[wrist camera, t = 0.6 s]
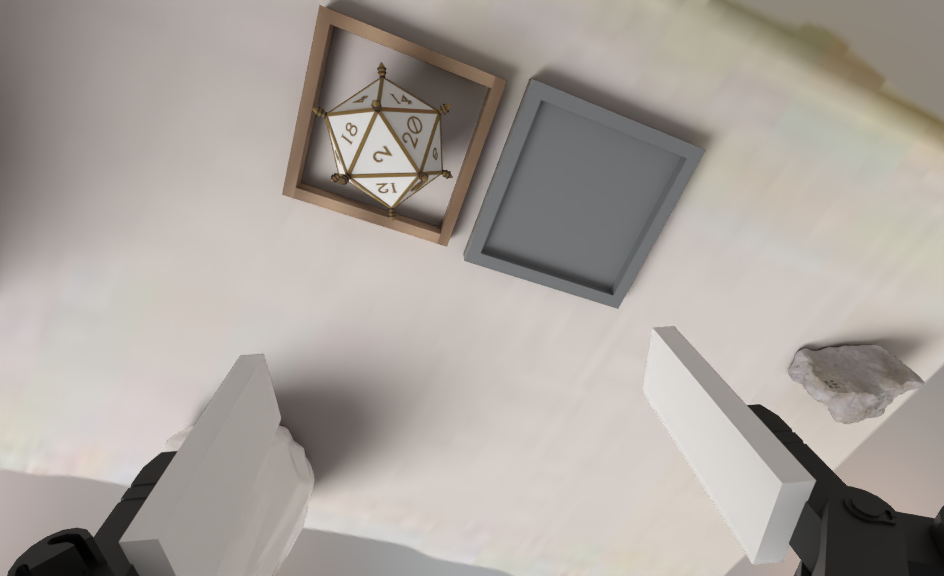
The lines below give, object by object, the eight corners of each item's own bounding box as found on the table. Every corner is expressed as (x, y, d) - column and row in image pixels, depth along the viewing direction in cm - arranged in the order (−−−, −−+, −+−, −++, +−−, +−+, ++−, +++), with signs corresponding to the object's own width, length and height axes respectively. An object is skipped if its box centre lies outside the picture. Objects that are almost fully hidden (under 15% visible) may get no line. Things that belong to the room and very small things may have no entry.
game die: (383, 105, 37) (359, 3, 27) (475, 162, 36) (484, 79, 26) (314, 194, 35) (261, 121, 25) (409, 255, 34) (392, 204, 24)
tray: (463, 253, 38) (464, 260, 37) (529, 78, 33) (533, 79, 32) (612, 300, 41) (618, 308, 40) (695, 146, 36) (705, 150, 35)
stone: (764, 398, 48) (805, 439, 43) (801, 331, 44) (850, 366, 39) (848, 407, 49) (898, 448, 44) (890, 342, 46) (949, 378, 41)
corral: (288, 189, 35) (282, 194, 34) (324, 7, 30) (319, 4, 29) (446, 240, 38) (446, 246, 36) (503, 79, 33) (506, 80, 32)
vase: (341, 427, 45) (301, 583, 32) (295, 519, 51) (243, 688, 37) (191, 379, 42) (73, 531, 28) (158, 483, 47) (44, 655, 33)
